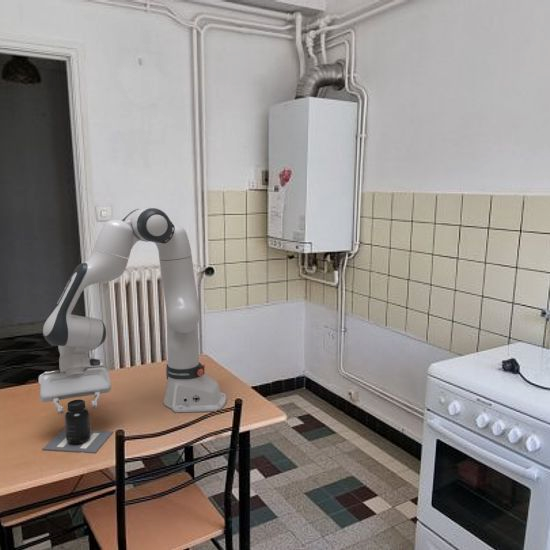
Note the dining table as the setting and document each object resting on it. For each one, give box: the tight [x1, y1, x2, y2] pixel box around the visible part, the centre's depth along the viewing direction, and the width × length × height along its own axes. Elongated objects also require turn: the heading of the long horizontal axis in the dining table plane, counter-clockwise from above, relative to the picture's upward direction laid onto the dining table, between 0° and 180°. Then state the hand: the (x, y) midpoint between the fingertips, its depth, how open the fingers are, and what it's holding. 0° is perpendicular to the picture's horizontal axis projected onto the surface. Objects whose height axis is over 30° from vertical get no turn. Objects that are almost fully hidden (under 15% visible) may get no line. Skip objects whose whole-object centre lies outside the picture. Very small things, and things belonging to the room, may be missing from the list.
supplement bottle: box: [64, 399, 91, 445], centre depth 141 cm, size 7×7×12 cm
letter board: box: [41, 428, 114, 454], centre depth 142 cm, size 16×12×1 cm
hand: (77, 410), depth 142 cm, fingers open, 8 cm apart
